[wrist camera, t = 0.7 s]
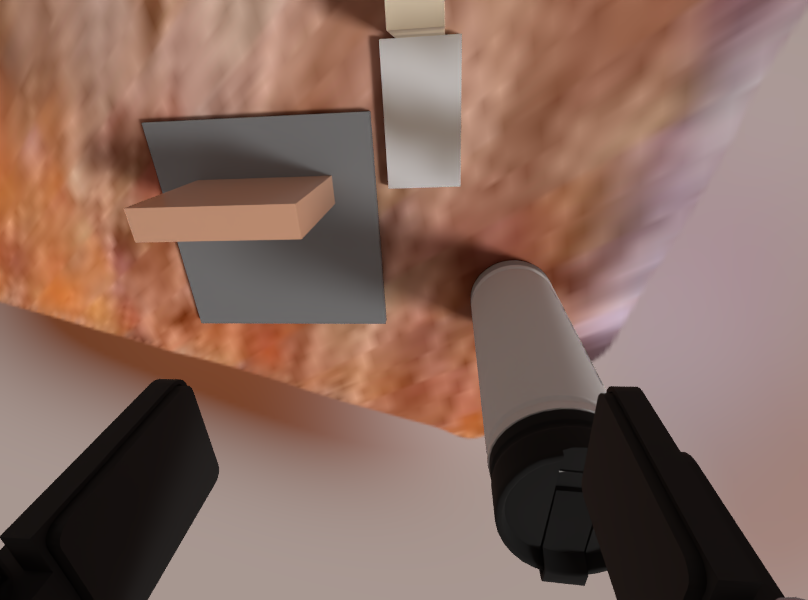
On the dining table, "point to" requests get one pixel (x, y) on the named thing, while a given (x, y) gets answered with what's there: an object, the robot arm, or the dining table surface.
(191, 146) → the grey square plate
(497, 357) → the travel mug
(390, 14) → the beige rectangular bar
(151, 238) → the tile
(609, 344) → the dining table surface
